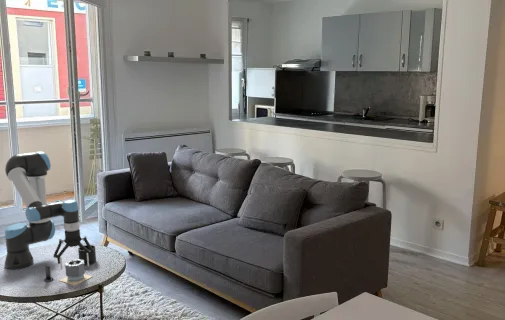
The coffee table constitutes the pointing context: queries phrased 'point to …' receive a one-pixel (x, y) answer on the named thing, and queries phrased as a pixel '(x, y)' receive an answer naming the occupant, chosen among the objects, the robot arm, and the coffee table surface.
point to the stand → (48, 274)
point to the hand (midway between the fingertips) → (75, 267)
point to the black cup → (84, 255)
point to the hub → (75, 279)
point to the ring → (74, 268)
